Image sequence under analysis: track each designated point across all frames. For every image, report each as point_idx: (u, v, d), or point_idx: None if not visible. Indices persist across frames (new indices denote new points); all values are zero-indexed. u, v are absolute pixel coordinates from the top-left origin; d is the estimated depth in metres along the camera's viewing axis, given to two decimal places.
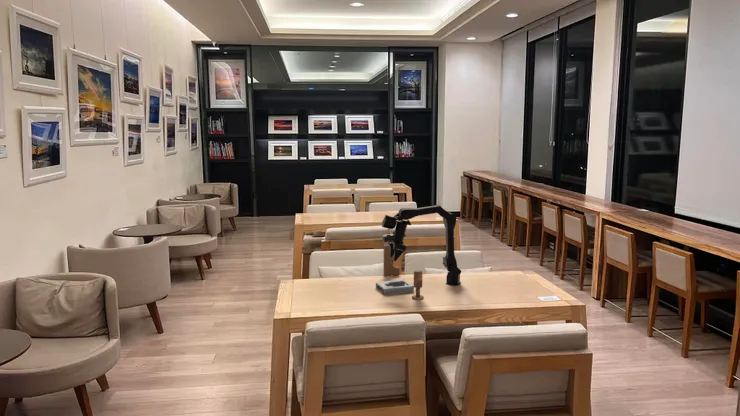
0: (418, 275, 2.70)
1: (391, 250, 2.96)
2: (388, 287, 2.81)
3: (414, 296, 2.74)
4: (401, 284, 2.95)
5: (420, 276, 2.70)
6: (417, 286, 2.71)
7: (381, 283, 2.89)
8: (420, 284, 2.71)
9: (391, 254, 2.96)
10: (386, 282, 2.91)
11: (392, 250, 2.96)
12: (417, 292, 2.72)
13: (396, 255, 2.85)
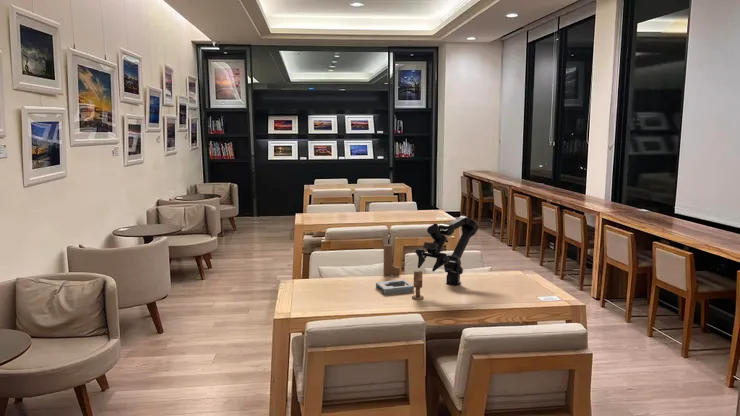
0: (418, 275, 2.70)
1: (420, 262, 2.82)
2: (388, 287, 2.81)
3: (414, 296, 2.74)
4: (401, 284, 2.95)
5: (420, 276, 2.70)
6: (417, 286, 2.71)
7: (381, 283, 2.89)
8: (420, 284, 2.71)
9: (419, 265, 2.81)
10: (386, 282, 2.91)
11: (420, 261, 2.83)
12: (417, 292, 2.72)
13: (437, 265, 2.75)
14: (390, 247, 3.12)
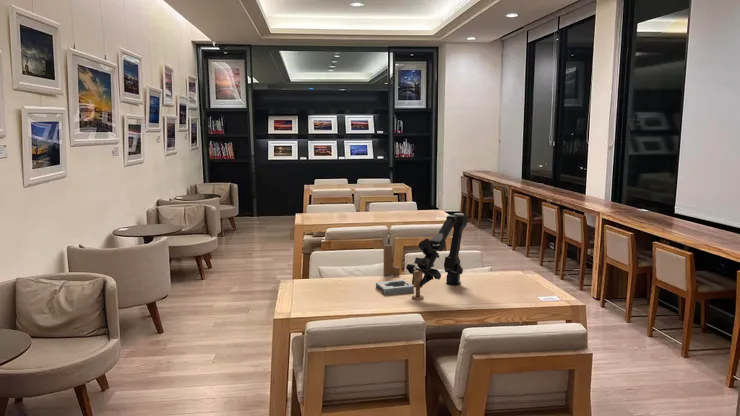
0: (418, 275, 2.70)
1: None
2: (388, 287, 2.81)
3: (414, 296, 2.74)
4: (401, 284, 2.95)
5: (420, 276, 2.70)
6: (417, 286, 2.71)
7: (381, 283, 2.89)
8: None
9: (413, 282, 2.74)
10: (386, 282, 2.91)
11: None
12: (417, 292, 2.72)
13: (424, 281, 2.71)
14: (390, 247, 3.12)
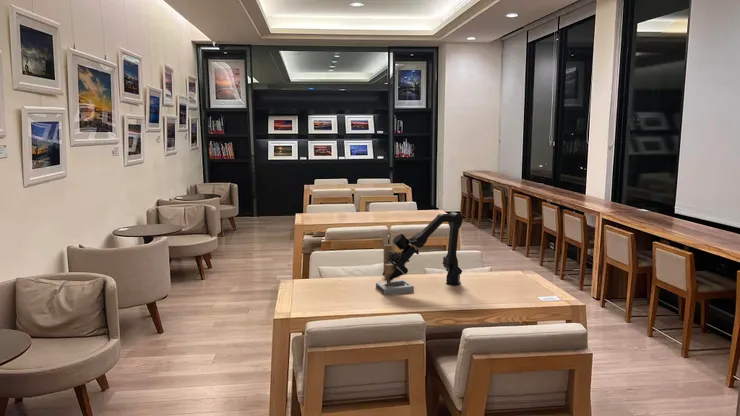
0: (386, 268, 2.83)
1: None
2: (388, 287, 2.81)
3: None
4: (401, 284, 2.95)
5: (388, 269, 2.83)
6: (386, 279, 2.84)
7: (381, 283, 2.89)
8: (388, 277, 2.83)
9: (384, 272, 2.89)
10: (386, 282, 2.91)
11: None
12: (387, 284, 2.85)
13: (394, 275, 2.80)
14: (390, 247, 3.12)
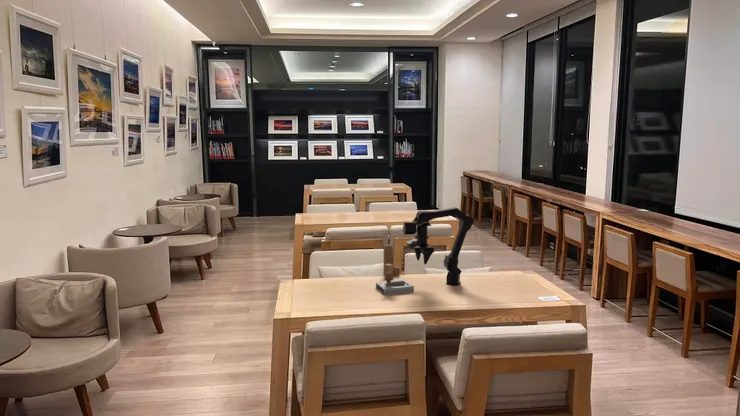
0: (386, 268, 2.83)
1: (417, 254, 2.98)
2: (388, 287, 2.81)
3: None
4: (401, 284, 2.95)
5: (388, 269, 2.83)
6: (386, 279, 2.84)
7: (381, 283, 2.89)
8: (388, 277, 2.83)
9: (418, 257, 2.98)
10: (386, 282, 2.91)
11: (417, 253, 2.98)
12: (387, 284, 2.85)
13: (426, 258, 2.88)
14: (390, 247, 3.12)
